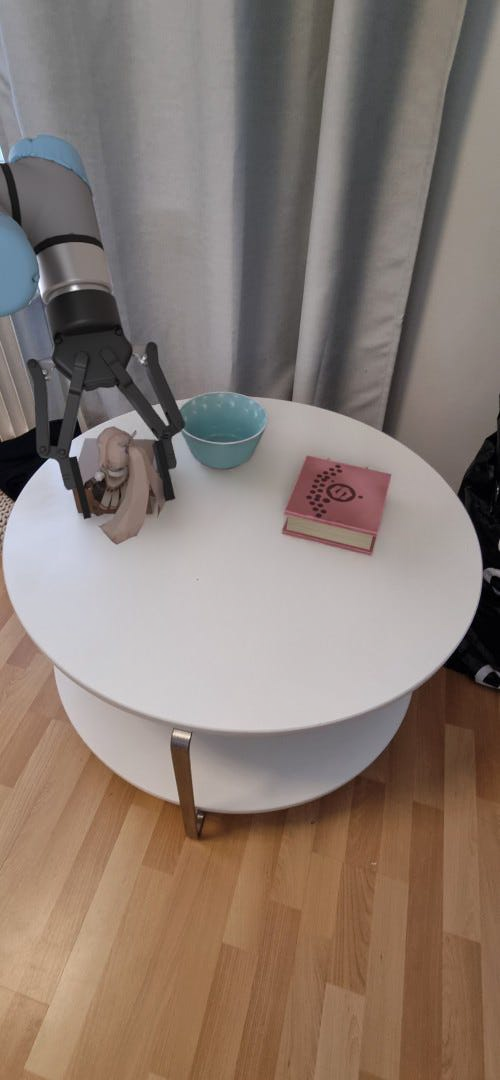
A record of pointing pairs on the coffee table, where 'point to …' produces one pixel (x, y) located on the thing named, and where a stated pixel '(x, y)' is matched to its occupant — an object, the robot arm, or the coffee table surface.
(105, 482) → the toy
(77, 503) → the walnut block
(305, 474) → the book
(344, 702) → the coffee table surface
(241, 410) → the bowl
